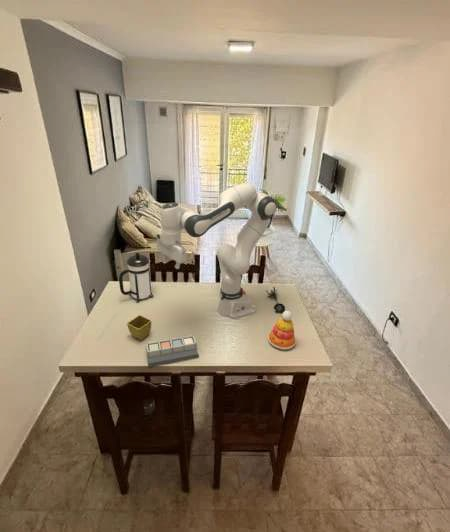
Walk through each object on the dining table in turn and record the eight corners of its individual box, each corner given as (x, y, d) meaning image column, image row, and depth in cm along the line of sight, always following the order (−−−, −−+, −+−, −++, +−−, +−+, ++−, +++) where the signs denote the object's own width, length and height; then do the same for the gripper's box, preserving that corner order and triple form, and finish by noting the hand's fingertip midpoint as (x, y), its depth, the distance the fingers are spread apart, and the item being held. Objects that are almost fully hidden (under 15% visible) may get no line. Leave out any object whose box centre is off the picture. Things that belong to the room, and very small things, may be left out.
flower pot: (140, 344, 152) (138, 329, 148) (128, 337, 156) (126, 323, 152) (153, 334, 158) (151, 320, 154) (140, 328, 162) (139, 314, 158)
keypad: (192, 338, 157) (191, 330, 154) (198, 357, 145) (198, 348, 142) (146, 346, 150) (145, 337, 147) (148, 367, 138) (147, 358, 136)
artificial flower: (271, 315, 180) (268, 300, 177) (267, 298, 201) (264, 285, 198) (286, 312, 179) (283, 297, 176) (280, 296, 200) (278, 282, 197)
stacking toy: (262, 342, 157) (266, 310, 148) (277, 329, 167) (281, 299, 158) (285, 355, 149) (291, 323, 140) (300, 341, 158) (306, 310, 150)
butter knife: (94, 339, 153) (99, 340, 153) (115, 312, 174) (120, 312, 174) (94, 340, 153) (100, 341, 153) (115, 312, 174) (120, 313, 174)
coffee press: (133, 288, 197) (128, 246, 184) (157, 291, 196) (154, 248, 182) (121, 303, 182) (115, 258, 168) (147, 306, 180) (143, 261, 167)
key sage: (158, 349, 147) (157, 343, 145) (159, 355, 143) (158, 349, 142) (149, 350, 145) (149, 345, 144) (150, 356, 142) (149, 350, 140)
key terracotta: (169, 347, 148) (169, 341, 147) (170, 352, 145) (170, 347, 143) (161, 348, 147) (160, 343, 145) (162, 354, 144) (161, 348, 142)
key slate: (180, 345, 150) (180, 339, 148) (182, 350, 146) (182, 345, 145) (172, 346, 149) (172, 341, 147) (173, 352, 145) (173, 346, 144)
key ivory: (191, 343, 151) (191, 337, 150) (193, 348, 148) (193, 343, 146) (183, 344, 150) (183, 339, 149) (185, 350, 147) (185, 344, 145)
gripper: (190, 243, 137) (189, 271, 143) (165, 230, 150) (166, 256, 156) (178, 246, 133) (178, 274, 139) (154, 233, 146) (155, 259, 152)
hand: (171, 264), depth 148 cm, fingers open, 8 cm apart
